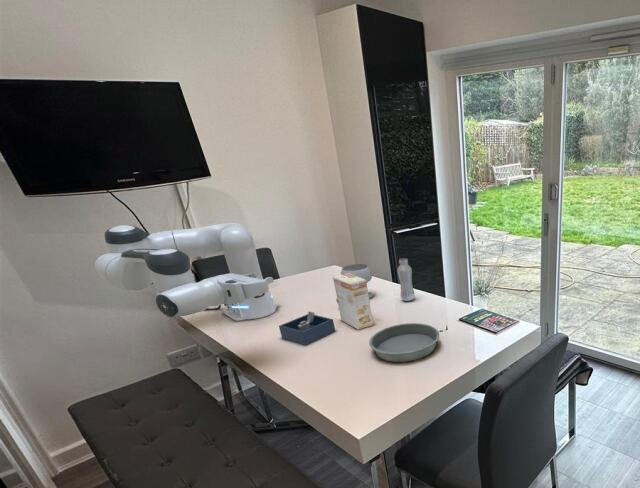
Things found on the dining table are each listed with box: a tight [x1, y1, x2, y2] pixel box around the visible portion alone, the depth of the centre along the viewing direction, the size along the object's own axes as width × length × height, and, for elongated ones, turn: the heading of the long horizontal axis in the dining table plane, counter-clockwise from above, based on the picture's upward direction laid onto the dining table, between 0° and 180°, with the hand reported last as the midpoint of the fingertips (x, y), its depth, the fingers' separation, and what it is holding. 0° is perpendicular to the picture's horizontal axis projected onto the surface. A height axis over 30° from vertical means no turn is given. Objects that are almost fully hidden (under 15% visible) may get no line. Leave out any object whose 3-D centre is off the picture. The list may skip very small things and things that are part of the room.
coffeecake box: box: [332, 273, 374, 330], centre depth 166 cm, size 15×7×20 cm, turn 47°
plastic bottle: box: [396, 257, 416, 302], centre depth 190 cm, size 6×7×20 cm
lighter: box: [298, 311, 315, 331], centre depth 158 cm, size 7×2×8 cm, turn 153°
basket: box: [278, 313, 336, 346], centre depth 159 cm, size 14×14×5 cm
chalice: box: [340, 263, 374, 299], centre depth 195 cm, size 14×14×15 cm
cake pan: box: [368, 322, 440, 363], centre depth 148 cm, size 25×25×4 cm
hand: (263, 277), depth 140 cm, fingers open, 8 cm apart
